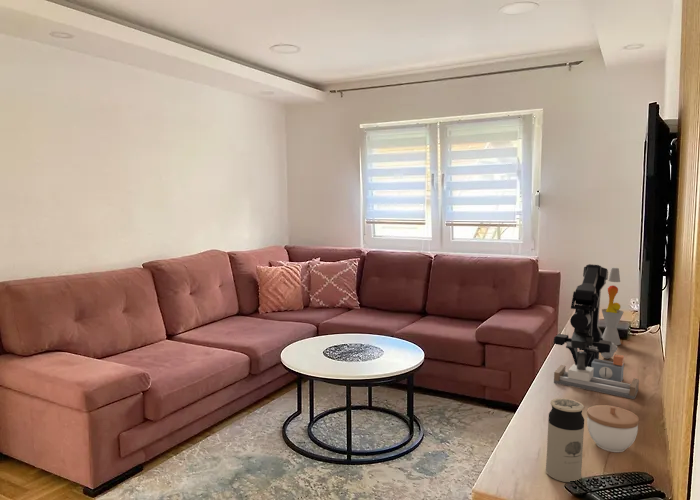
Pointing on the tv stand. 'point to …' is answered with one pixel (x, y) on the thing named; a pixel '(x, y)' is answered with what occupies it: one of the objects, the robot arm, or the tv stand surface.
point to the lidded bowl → (612, 427)
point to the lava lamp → (612, 311)
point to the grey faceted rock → (610, 355)
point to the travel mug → (565, 440)
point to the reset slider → (618, 360)
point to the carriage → (581, 369)
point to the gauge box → (607, 370)
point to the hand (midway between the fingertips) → (581, 366)
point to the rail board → (598, 384)
